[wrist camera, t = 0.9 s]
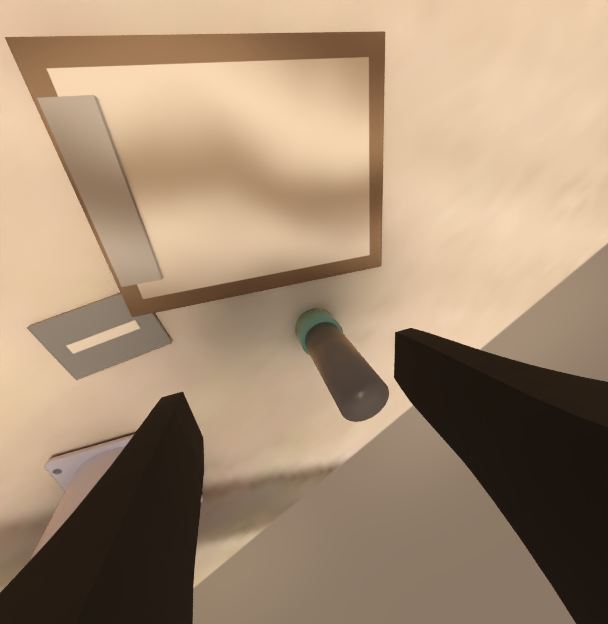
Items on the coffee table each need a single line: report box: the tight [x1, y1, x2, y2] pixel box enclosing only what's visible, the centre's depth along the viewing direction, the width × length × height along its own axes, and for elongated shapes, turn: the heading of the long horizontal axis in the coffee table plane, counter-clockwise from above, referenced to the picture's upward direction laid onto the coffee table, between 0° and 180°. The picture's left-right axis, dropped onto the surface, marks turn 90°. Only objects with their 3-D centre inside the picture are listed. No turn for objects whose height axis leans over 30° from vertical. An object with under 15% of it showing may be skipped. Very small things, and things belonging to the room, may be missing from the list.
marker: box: [296, 309, 389, 422], centre depth 16 cm, size 3×3×8 cm
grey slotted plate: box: [27, 293, 172, 380], centre depth 16 cm, size 4×6×1 cm, turn 107°
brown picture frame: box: [5, 32, 385, 317], centre depth 14 cm, size 12×16×1 cm
